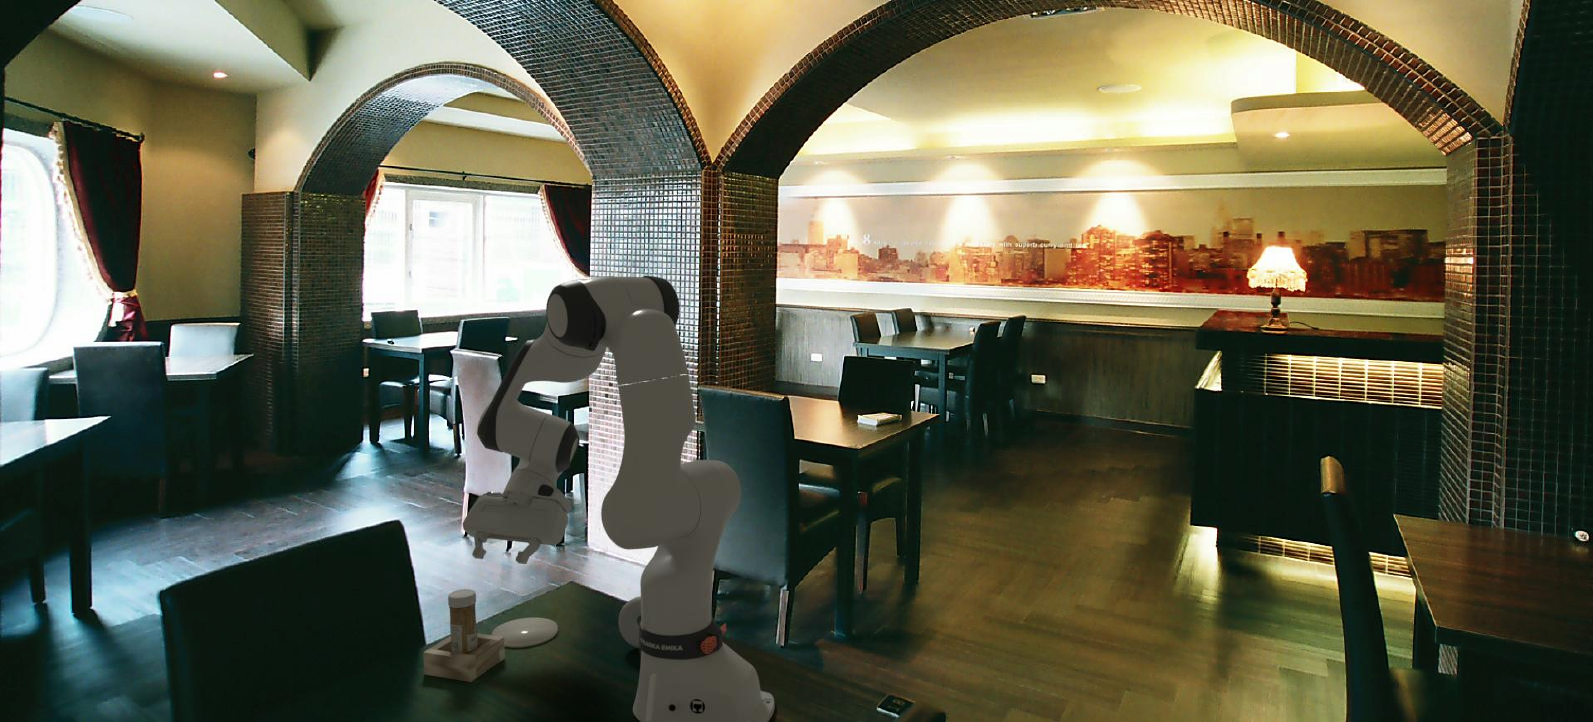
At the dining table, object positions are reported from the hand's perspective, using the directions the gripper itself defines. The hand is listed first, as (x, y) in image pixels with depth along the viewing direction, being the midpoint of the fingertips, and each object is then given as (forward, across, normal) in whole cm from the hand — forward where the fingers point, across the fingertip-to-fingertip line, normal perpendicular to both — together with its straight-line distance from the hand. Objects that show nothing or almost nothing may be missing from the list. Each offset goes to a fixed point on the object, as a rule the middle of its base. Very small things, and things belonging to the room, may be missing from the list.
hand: (498, 560), depth 168 cm
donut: (+8, +27, +15) cm, 32 cm away
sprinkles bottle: (+19, 0, +4) cm, 19 cm away
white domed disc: (+8, +2, +14) cm, 17 cm away
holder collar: (+19, 0, +4) cm, 19 cm away
